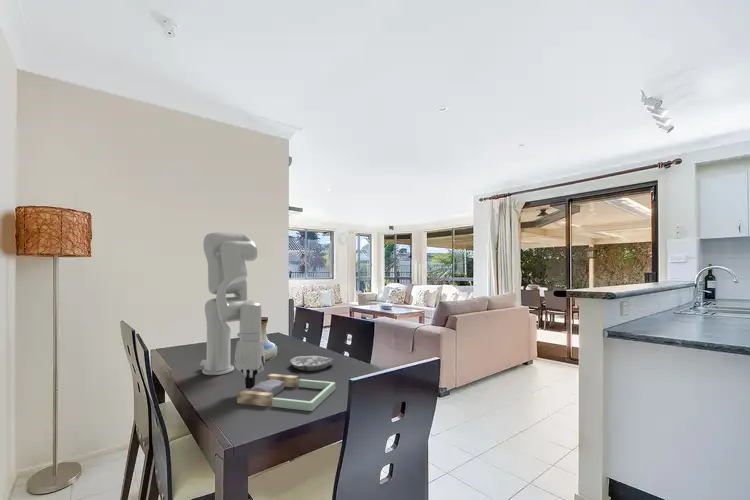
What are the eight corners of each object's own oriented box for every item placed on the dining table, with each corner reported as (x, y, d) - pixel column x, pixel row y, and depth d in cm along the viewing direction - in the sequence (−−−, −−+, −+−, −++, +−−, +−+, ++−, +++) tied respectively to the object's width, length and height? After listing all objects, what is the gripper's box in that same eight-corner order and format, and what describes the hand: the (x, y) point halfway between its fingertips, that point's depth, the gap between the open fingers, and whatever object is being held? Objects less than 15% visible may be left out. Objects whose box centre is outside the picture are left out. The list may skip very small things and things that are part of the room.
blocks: (237, 402, 121) (237, 392, 121) (270, 382, 141) (270, 373, 141) (268, 406, 118) (268, 395, 118) (298, 385, 138) (298, 376, 138)
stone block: (245, 404, 125) (270, 400, 123) (243, 389, 125) (268, 386, 123) (263, 393, 136) (287, 389, 134) (261, 380, 137) (285, 376, 135)
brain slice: (282, 372, 155) (282, 365, 155) (297, 361, 172) (297, 355, 172) (326, 374, 152) (326, 367, 152) (336, 363, 169) (336, 356, 169)
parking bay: (272, 406, 118) (272, 398, 118) (300, 385, 137) (300, 379, 137) (312, 411, 114) (312, 403, 114) (335, 389, 133) (335, 382, 133)
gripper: (226, 337, 130) (225, 389, 130) (262, 340, 126) (262, 392, 126) (239, 333, 137) (238, 382, 137) (274, 335, 134) (273, 385, 133)
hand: (250, 387), depth 131 cm, fingers closed
